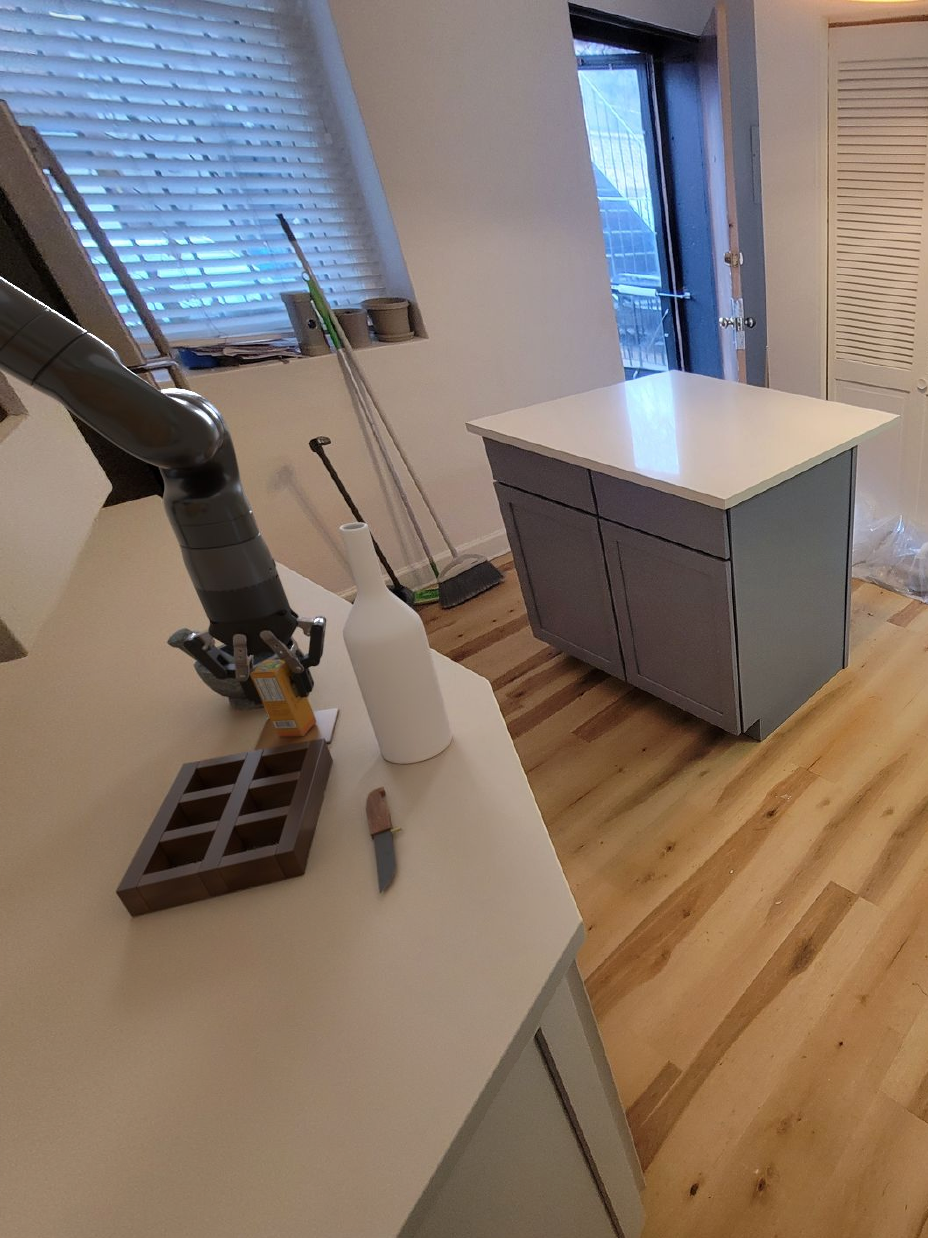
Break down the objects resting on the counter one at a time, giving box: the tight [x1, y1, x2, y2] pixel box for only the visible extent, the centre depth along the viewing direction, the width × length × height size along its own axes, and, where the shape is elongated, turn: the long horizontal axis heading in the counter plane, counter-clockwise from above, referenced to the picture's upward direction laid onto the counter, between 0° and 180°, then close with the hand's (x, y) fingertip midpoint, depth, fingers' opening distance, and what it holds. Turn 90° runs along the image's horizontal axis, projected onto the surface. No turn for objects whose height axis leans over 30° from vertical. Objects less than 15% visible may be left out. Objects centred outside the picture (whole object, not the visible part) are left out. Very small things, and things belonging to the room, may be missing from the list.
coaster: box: [253, 707, 340, 751], centre depth 90 cm, size 8×8×1 cm
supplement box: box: [250, 660, 316, 737], centre depth 87 cm, size 3×3×10 cm
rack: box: [115, 738, 334, 918], centre depth 75 cm, size 14×20×4 cm
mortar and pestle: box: [166, 627, 281, 710], centre depth 93 cm, size 11×9×12 cm
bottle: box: [338, 521, 453, 765], centre depth 82 cm, size 8×8×30 cm
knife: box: [365, 786, 404, 894], centre depth 75 cm, size 17×1×3 cm
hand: (284, 696), depth 87 cm, fingers closed on supplement box, 4 cm apart
